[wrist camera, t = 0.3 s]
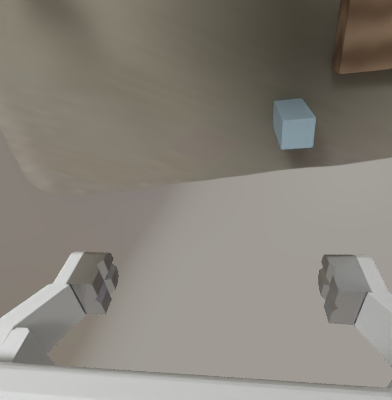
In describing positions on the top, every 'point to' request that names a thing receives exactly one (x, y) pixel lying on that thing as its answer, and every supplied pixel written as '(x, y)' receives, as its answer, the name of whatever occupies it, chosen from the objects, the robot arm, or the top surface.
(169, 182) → the top surface
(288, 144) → the slate block
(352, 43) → the walnut base
